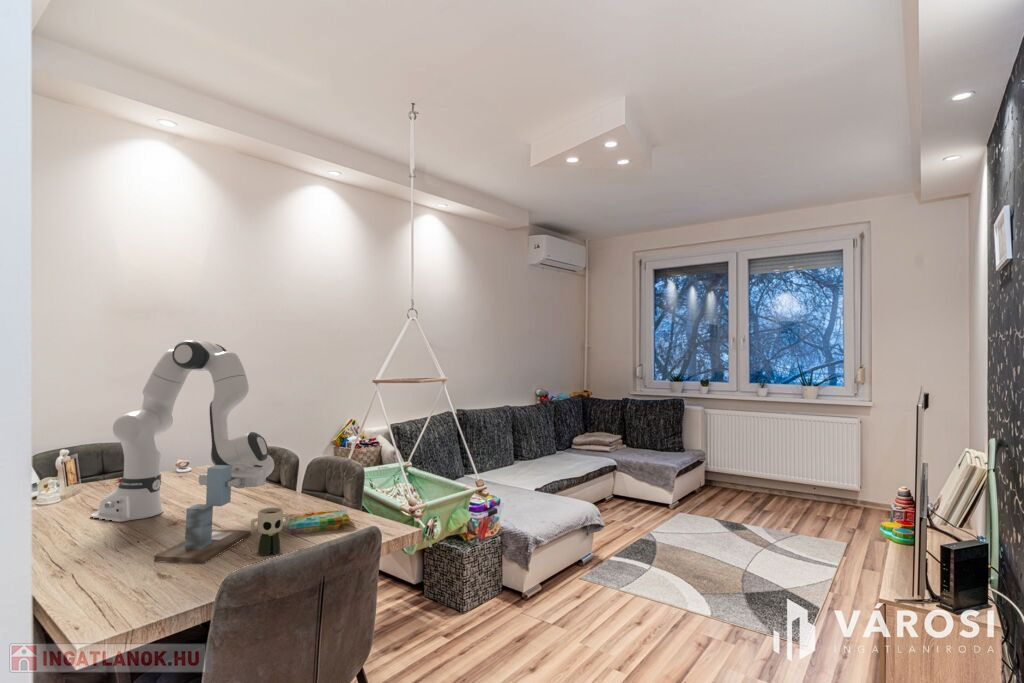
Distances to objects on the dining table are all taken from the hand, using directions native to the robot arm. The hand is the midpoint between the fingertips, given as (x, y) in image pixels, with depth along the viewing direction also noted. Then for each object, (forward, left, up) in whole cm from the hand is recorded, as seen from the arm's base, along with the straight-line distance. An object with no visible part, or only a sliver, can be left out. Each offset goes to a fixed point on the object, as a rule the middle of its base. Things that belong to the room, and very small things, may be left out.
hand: (217, 484), depth 166 cm
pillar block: (0, +1, -6) cm, 7 cm away
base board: (0, -5, -18) cm, 19 cm away
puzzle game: (+26, +18, -19) cm, 37 cm away
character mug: (+22, -7, -19) cm, 30 cm away
